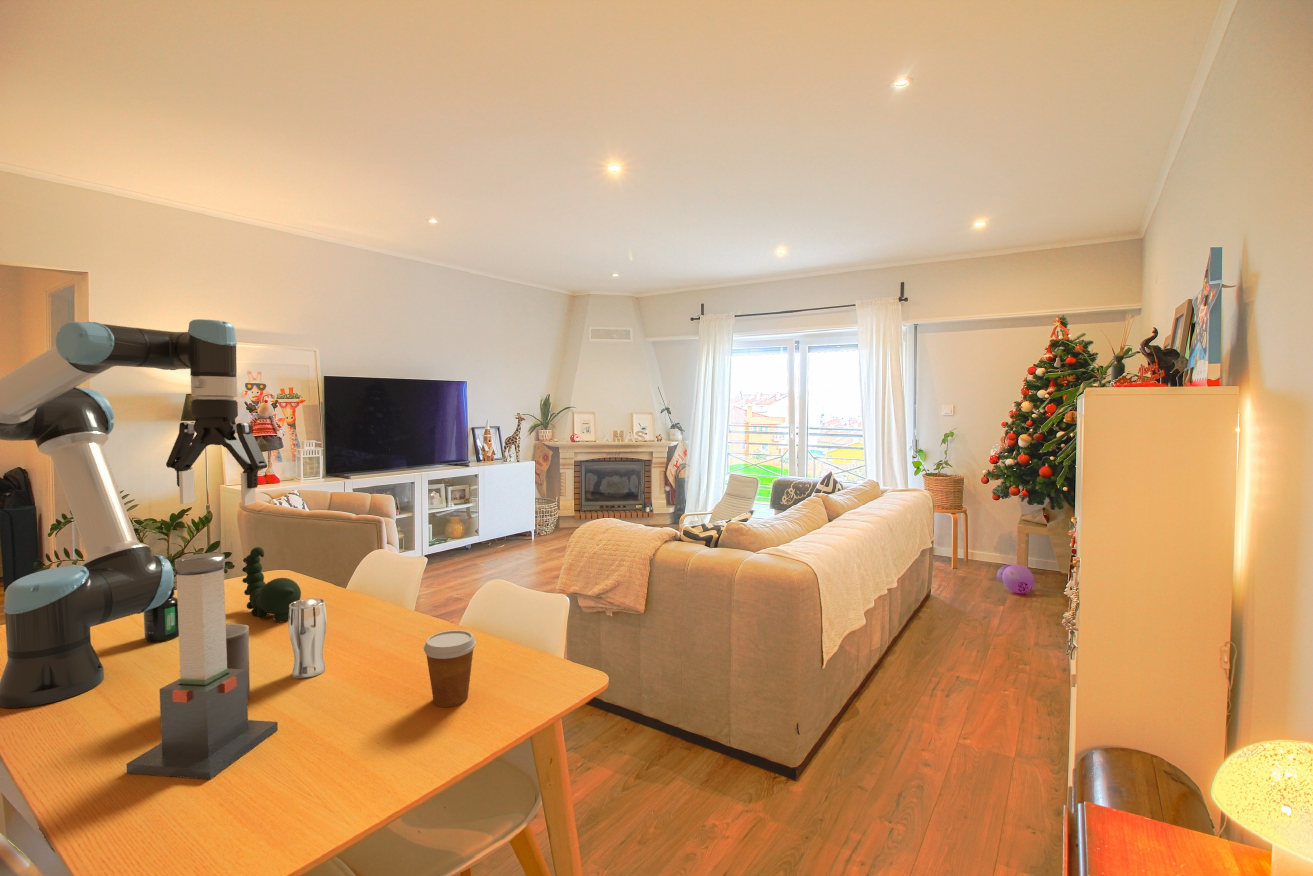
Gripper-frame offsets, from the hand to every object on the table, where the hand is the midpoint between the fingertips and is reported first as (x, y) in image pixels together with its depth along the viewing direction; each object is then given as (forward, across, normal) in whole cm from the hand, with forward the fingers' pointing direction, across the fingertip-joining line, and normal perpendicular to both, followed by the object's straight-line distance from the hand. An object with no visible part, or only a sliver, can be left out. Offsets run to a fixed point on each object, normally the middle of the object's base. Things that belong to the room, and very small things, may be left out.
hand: (217, 503), depth 122 cm
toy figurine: (+37, -19, +36) cm, 55 cm away
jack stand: (+36, +18, -23) cm, 47 cm away
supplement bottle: (+37, -33, +19) cm, 53 cm away
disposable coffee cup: (+36, +50, -2) cm, 62 cm away
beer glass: (+37, +15, +6) cm, 40 cm away
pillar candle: (+37, +7, -8) cm, 38 cm away
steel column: (+28, +18, -23) cm, 41 cm away
